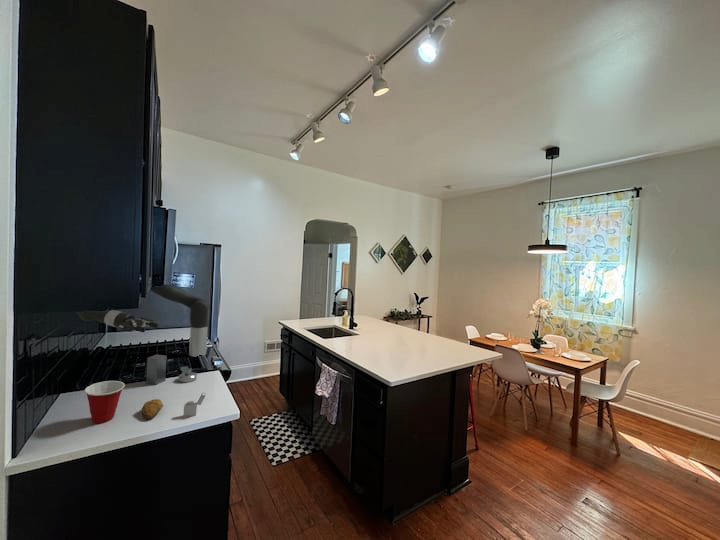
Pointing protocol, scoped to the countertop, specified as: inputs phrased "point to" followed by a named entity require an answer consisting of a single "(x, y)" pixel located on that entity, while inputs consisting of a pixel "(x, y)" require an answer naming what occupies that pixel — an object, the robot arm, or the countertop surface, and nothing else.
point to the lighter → (192, 406)
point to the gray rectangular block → (156, 369)
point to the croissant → (152, 408)
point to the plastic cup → (103, 400)
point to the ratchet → (187, 375)
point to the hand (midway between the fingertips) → (151, 328)
